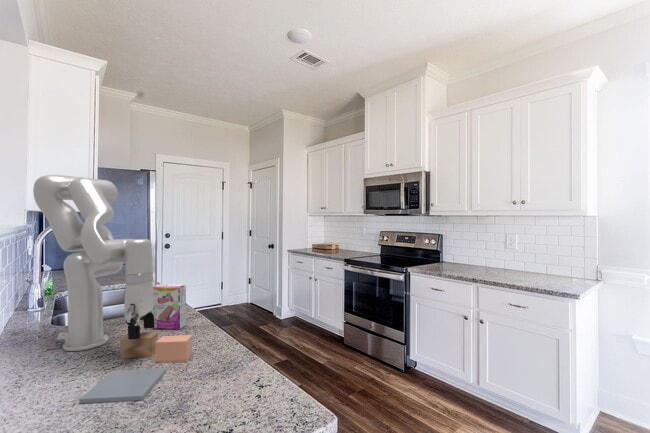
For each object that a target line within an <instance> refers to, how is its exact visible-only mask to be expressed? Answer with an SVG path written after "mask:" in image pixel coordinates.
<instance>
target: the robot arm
mask: <svg viewBox="0 0 650 433" xmlns="http://www.w3.org/2000/svg"><path fill="white" fill-rule="evenodd" d="M32 190H33V191H32V192H33V194H32V195H33V199H34V202H35V204H36V206H37V207H38V209H39V210H40V211H41V213H42V214H43V215H44V217H45V218H46V220H47V222H48V223H49V226H50V228H51V230H52V233H53V235H54V237H55V240H56V242H57V244H58V245H59V247H60V249H62V251H64V252H67V253H68V252H72V253H70V254H69V255H68V256H67V257H66V258H65V259H64V261H63V271H64V272H63V273H64V276H65V281H66V284H67V285H66V287H67V303H68V304H67V314H68V319H67V320H68V323H67V324H68V325H67V327H68V331H66V332H64V331H62V332H59V333H58V335H57V337H56V339H57V340H56V341H63V340H64V343H63V344H62V350H63V351H66V352H80V351H81V352H82V351H87V350H90V349H91V350H92V349H95V348H97V347H100V346H101V347H102V345H105V344H107V342H108V341H109V340H110V339H109V335H108V334H104V302H103V300H104V298H103V297H104V295H103V287H102V285H101V284H100V283H99V282H98V280H97V279H96V278H100V277H105V276H110V275H114V274H117V273H119V272H120V271H121V270H122V268H123V266H124V268H125V269H124V272H125V285H126V286H125V291H124V292H125V293H124V313H123V314H124V319H125V324H126V327H127V334H128V339H129V340H131V339H139V338H140V333H141V325H140V317H142V316H143V318H142V319H143V329H145V330H146V329H153V328H154V327H155V325H154V313H155V312H154V308H155V307H154V304H155V300H154V293H153V286H154V285H153V283H154V267H153V266H154V265H153V262H154V261H153V248H152V247H153V245H152V241H151V240H150V239H147V238H137V239H135V238H120V239H119V238H118V239H115V238H114V235H113V234H112V232H111V230H110V229H109V228H108V227H107V226H105V224H107V223H109V222H110V221H111V220H112V219H113V218H114V215H115V211H114V209H113V207H112V206H111V204H112V203H114V202H116V200H117V199H118V194H119V192H118V188H117V186H116V185H115V184H114V183H113V182H111V181H110V180H106V179H97V178H92V177H91V178H89V177H82V176H71V175H61V174H47V175H42V176H39V177H38V178H37V179H36V180H35V182H34V183H33V189H32ZM64 200H65V201H73V203H74V204H75V206H76V209H77V210H78V212H79V213H80V216H82V218H83V220H84V221H85V222H83V221H82V220H81V218H80V216H79V213H78V212H77V210H76V209H75V208H74V207H72V206H71V205H70V204H69V203H67V202H65V201H64ZM73 252H74V253H73ZM144 315H145V316H144Z"/></svg>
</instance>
